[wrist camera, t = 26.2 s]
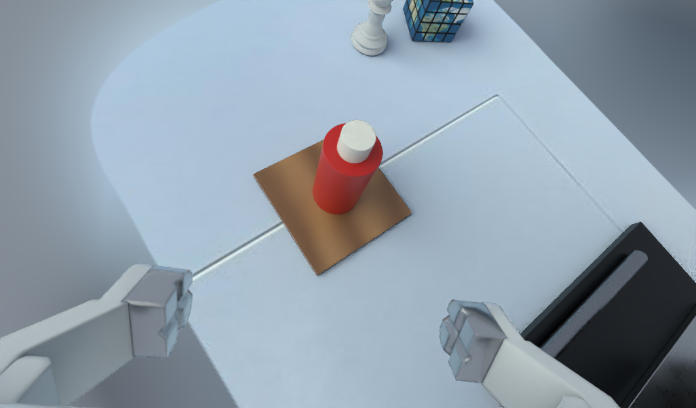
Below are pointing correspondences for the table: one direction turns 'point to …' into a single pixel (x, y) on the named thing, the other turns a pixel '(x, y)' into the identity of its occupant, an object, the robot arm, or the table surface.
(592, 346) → the oven
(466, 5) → the puzzle
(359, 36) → the chess piece
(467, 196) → the table surface
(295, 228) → the wooden square board
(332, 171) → the ketchup bottle
